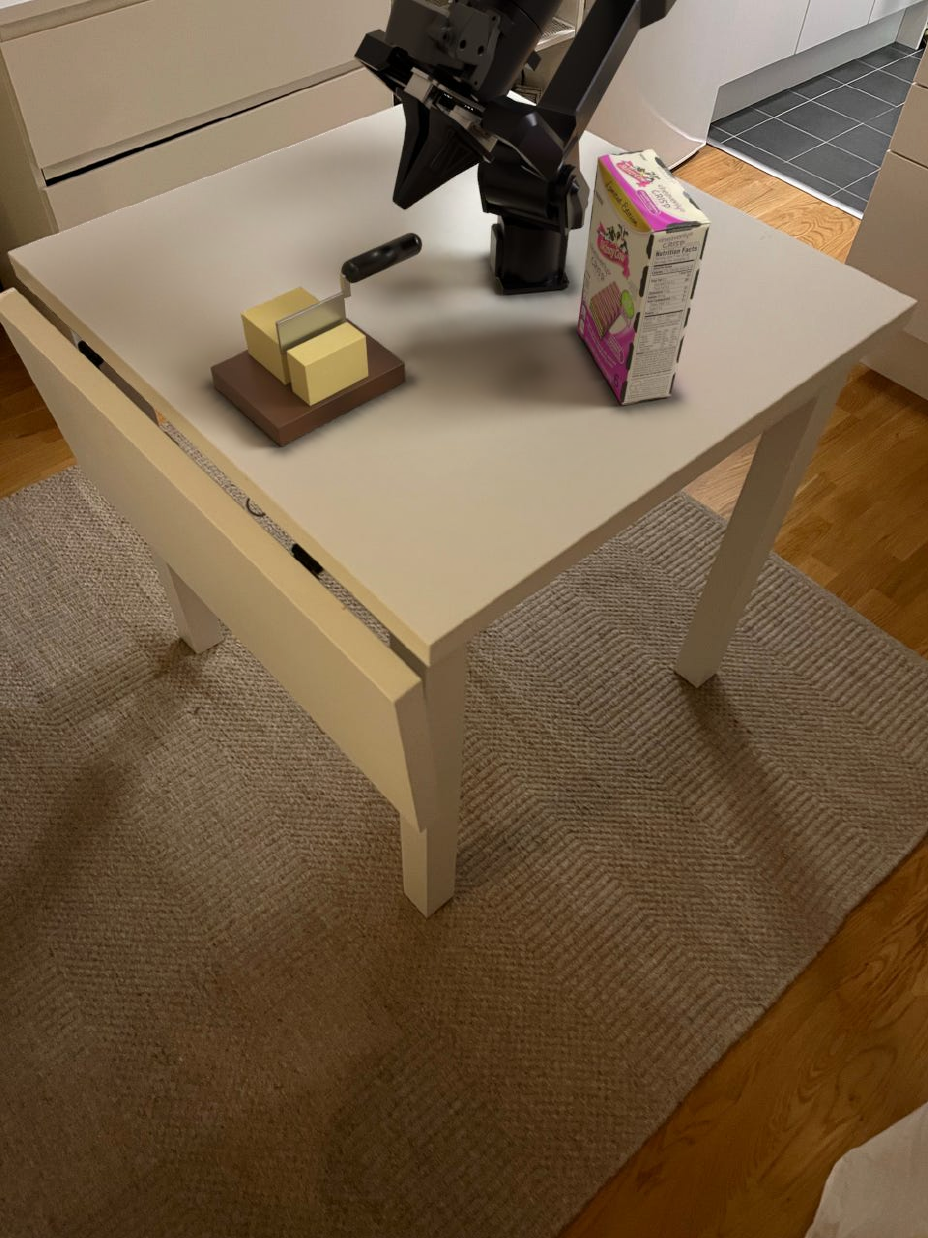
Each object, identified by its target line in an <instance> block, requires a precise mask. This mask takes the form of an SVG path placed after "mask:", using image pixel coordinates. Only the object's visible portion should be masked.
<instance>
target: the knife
mask: <svg viewBox="0 0 928 1238" xmlns="http://www.w3.org/2000/svg"><path fill="white" fill-rule="evenodd" d="M422 249H423V240H422V238H421V236H419V234H417V233H415V232H407V233H405V234H402V235H400V236H397V237H396V238H393V239H392V240H389V241H387V242H385V243H383V244H380V245H378V246H375V247H374V248H371V249H369V250H367V251H364V252H362V253H360V254H358V255H356V256H353V257H352V258H349V259H347V260H345V261H344V262H343V263H342V265H341V268H340V273H339V281H340V289H341V290H340V291H339V292H337V293H335V294H333V295H331V296H329V297H326V298H325V299H322V300H319V301H320V302H318V303H315V304H313V305H311V306H309V307H307V308H305V309H303V310H300V311H298V312H296V313H294V314H292V315H290V316H287V317H285V318H283V319H281V320H279V321H277V322H275V323H276V330H277V336H278V342H279V348H280V354H281V355H282V356H283V355H285V354H287V351H288V350H290V349H292V348H294V347H296V346H298V345H300V344H302V343H304V342H306V341H308V340H311V339H313V338H315V337H317V336H319V335H321V334H323V333H325V332H327V331H329V330H331V329H333V328H335V327H338V326H340V325H342V324H344V323H346V322H347V321H346V318H347V313H346V312H347V311H346V302H345V299H347V298H349V297H351V296H352V293H351V291H352V290H351V284H357V283H359V282H361V281H364V280H366V279H368V278H370V277H372V276H375V275H376V274H379V273H381V272H383V271H385V270H387V269H389V268H392V267H394V266H396V265H398V264H400V263H403V262H405V261H407V260H409V259H410V258H413V257H416V256H418V255H419V254H420V253H421V251H422Z"/></svg>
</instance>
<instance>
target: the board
mask: <svg viewBox="0 0 928 1238" xmlns="http://www.w3.org/2000/svg"><path fill="white" fill-rule="evenodd" d="M346 321H347V322H348V323H349V324H350V325H352V326H353V327H354V328H356V329H357V330H358V331H359V332H361V333H362V334H363V335H365V337H366V350H367V363H368V377H366V378H364V379H362V380H360V381H358V382H356V383H354V384H352V385H350V386H348V387H346V388H344V389H342V390H340V391H339V392H337V393H335V394H333V395H331V396H329V397H327V398H325V399H323V400H321V401H319V402H317V403H315V404H313V405H311V406H310V405H308V404H307V403H306V402H305V401H304V400H303V399H301V398H300V397H299V396H298V395H297V394H296V393H294V392H293V390H292V383H291V382H290V383H288V384H286V385H285V384H284V383H283V382H281V381H280V380H279V379H278V378H277V377H276V376H274V375H273V374H272V373H271V372H270V371H269V370H267V369H266V368H265V367H264V366H263V365H262V364H260V363H259V362H258V361H257V360H256V359H255V358H253V357H252V356H251V355H250V354H249V353H248V349H247V350H244V351H242V352H240V353H238V354H236V355H233V356H230V357H229V358H227V359H225V360H222V361H221V362H218V363H216V364H214V365H212V366H210V367H209V368H210V369H209V370H210V374H211V377H212V381H213V386H214V387H215V388H216V389H217V390H218V391H219V392H220V393H221V394H222V395H223V396H225V397H226V398H227V399H228V400H229V401H230V402H231V403H233V405H234V406H236V408H238V409H239V410H240V411H241V412H242V413H243V414H244V415H245V416H247V417H248V418H249V419H250V420H251V421H252V422H253V423H254V424H255V425H256V426H257V427H259V428H260V429H261V430H262V431H263V432H264V433H265V434H267V435H268V437H270V438H271V439H272V440H273V441H274V442H275V443H276V444H277V445H278V446H280V447H281V448H282V447H284V446H285V445H288V444H289V443H292V442H293V441H295V440H298V439H299V438H301V437H303V436H304V435H307V434H308V433H310V432H312V431H314V430H316V429H318V428H320V427H322V426H324V425H325V424H327V423H329V422H331V421H333V420H335V419H337V418H338V417H341V416H342V415H344V414H346V413H349V412H350V411H352V410H354V409H355V408H357V407H359V406H361V405H364V404H365V403H367V402H369V401H370V400H372V399H374V398H376V397H378V396H380V395H382V394H384V393H386V392H388V391H390V390H391V389H393V388H396V387H397V386H399V385H401V384H403V383H405V382H406V380H407V379H406V362H405V361H404V360H403V359H401V358H400V357H399V356H397V355H396V354H395V353H393V352H392V351H391V350H389V349H388V348H387V347H385V346H384V345H383V344H382V343H380V342H379V341H377V339H375V338H374V337H373V336H371V335H370V334H369V333H367V332H366V331H365V330H363V329H362V328H361V327H359V326H358V325H357V324H355V322H353V321H351V320H350V319H349V318H347V317H346Z"/></svg>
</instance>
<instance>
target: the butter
mask: <svg viewBox="0 0 928 1238" xmlns="http://www.w3.org/2000/svg"><path fill="white" fill-rule="evenodd" d="M320 301H321V300H319V298H316V296H314V295H313V294H312V293H310V292H309V291H308V290H306V289H305V288H304V287H302V286H298V287H296V288H294V289H291V290H289V291H287V292H284V293H283V294H280V295H278V296H276V297H274V298H272V299H269V300H267V301H264V302H263V303H260V304H258V305H256V306H253V307H251V308H249V309H247V310H245V311H242V312H241V313H240V316H241V321H242V327H243V331H244V336H245V341H246V348H247V350H248V353H249V354H250V355H251V356H252V357H253V358H255V359H256V360H257V361H258V362H259V363H260V364H262V365H263V366H264V367H265V368H266V369H267V370H269V371H270V372H271V373H272V374H273V375H274V376H276V377H277V378H278V379H279V380H280V381H281V382H283V383H284V384H285V385H286V384H288V383H290V382H291V383H292V390H293V392H294V393H296V394H297V395H298V396H299V397H300V398H301V399H303V400H304V401H305V402H306V403H307V404H308V405H310V406H311V405H313V404H315V403H317V402H319V401H321V400H323V399H325V398H327V397H329V396H331V395H333V394H335V393H337V392H339V391H340V390H342V389H344V388H346V387H348V386H350V385H352V384H354V383H356V382H358V381H360V380H362V379H364V378H366V377H368V363H367V350H366V337H365V335H363V334H362V333H361V332H359V331H358V330H357V329H356V328H354V327H353V326H352V325H350V324H349V323H348V322H346V323H344V324H342V325H340V326H338V327H335V328H333V329H331V330H329V331H327V332H325V333H323V334H321V335H319V336H317V337H315V338H313V339H311V340H308V341H306V342H304V343H302V344H300V345H298V346H296V347H294V348H292V349H290V350H288V351H287V354H285V355H283V356H282V355H281V354H280V348H279V342H278V336H277V330H276V323H275V322H277V321H279V320H281V319H283V318H285V317H287V316H290V315H292V314H294V313H296V312H298V311H300V310H303V309H305V308H307V307H309V306H311V305H313V304H315V303H318V302H320Z"/></svg>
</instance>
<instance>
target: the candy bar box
mask: <svg viewBox="0 0 928 1238" xmlns="http://www.w3.org/2000/svg"><path fill="white" fill-rule="evenodd" d="M594 179H595V180H594V187H593V188H594V189H593V194H592V195H593V196H592V206H591V214H590V221H589V229H588V238H587V248H586V254H585V255H586V256H585V263H584V273H583V281H582V289H581V298H580V306H579V313H578V320H577V328H576V331H577V332H578V334H579V336H580V337H581V339H582V341H583V342H584V344H585V346H586V347H587V349H588V351H589V352H590V354H591V356H592V357H593V359H594V361H595V363H596V364H597V366H598V368H599V369H600V371H601V372H602V375H603V376H604V377H605V380H606V381H607V382H608V384H609V386H610V387H611V390H612V392H613V393H614V395H615V396H616V399H617V400H618V401H619V403H620V405H621V406H627V405H628V406H629V405H635V404H638V403H642V402H647V401H653V400H659V399H663V398H664V399H665V398H669V397H670V398H671V396H672V393H673V392H672V391H673V388H674V383H675V379H676V374H677V372H678V371H677V370H678V366H679V361H680V357H681V353H682V347H683V344H684V339H685V335H686V331H687V326H688V322H689V318H690V314H691V309H692V305H693V301H694V296H695V291H696V287H697V283H698V279H699V278H698V277H699V274H700V269H701V266H702V261H703V256H704V251H705V248H706V244H707V239H708V235H709V230H710V227H711V225H712V224H711V223H712V222H711V220H710V219H709V218H708V217H707V216H706V214H705V213H704V212H703V211H702V209H700V207H699V206H698V204H697V203H696V202H695V201H694V199H693V198H692V197H691V196H690V194H689V193H688V192H687V190H686V189H685V188H684V187H683V186H682V184H681V183H680V182H679V181H678V180H677V178H676V176H674V174H673V173H672V172H671V170H670V169H669V168H668V166H666V164H665V163H664V162H663V160H662V159H661V158H660V157H659V155H658V154H657V153H656V152H655V150H654V149H653V148H649V149H642V150H635V151H625V152H620V153H609V154H605V155H601V156H598V157H597V161H596V171H595V178H594Z"/></svg>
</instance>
